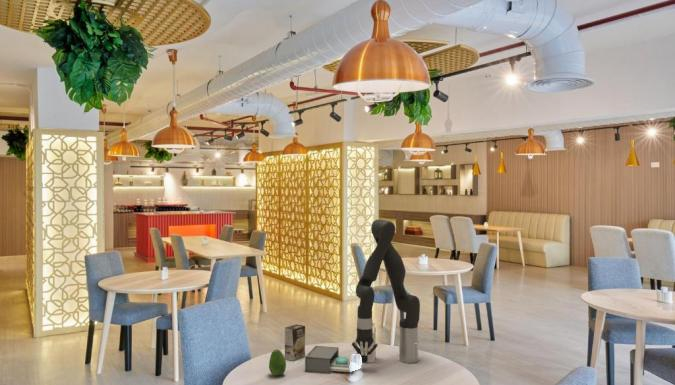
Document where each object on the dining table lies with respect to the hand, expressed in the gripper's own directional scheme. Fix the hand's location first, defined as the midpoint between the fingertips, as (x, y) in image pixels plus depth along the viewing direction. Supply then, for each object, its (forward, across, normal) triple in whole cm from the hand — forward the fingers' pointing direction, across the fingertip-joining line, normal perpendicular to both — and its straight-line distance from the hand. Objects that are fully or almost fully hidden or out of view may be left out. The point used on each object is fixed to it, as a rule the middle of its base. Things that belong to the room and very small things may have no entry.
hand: (364, 362), depth 254 cm
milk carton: (+4, -1, +14) cm, 15 cm away
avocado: (+4, -38, -17) cm, 42 cm away
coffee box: (+4, -38, +9) cm, 39 cm away
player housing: (+4, -21, 0) cm, 21 cm away
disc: (+1, -11, 0) cm, 11 cm away
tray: (+3, -11, 0) cm, 11 cm away
